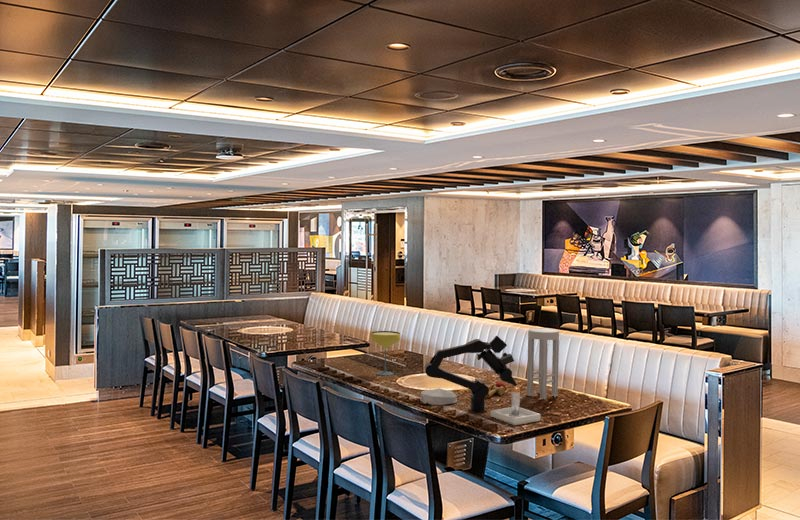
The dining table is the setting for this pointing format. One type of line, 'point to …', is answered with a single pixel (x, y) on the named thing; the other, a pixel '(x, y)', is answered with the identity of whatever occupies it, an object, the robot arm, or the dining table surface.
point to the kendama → (497, 389)
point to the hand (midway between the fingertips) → (514, 383)
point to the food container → (438, 397)
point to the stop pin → (515, 403)
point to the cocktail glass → (385, 343)
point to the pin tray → (526, 417)
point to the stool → (543, 361)
